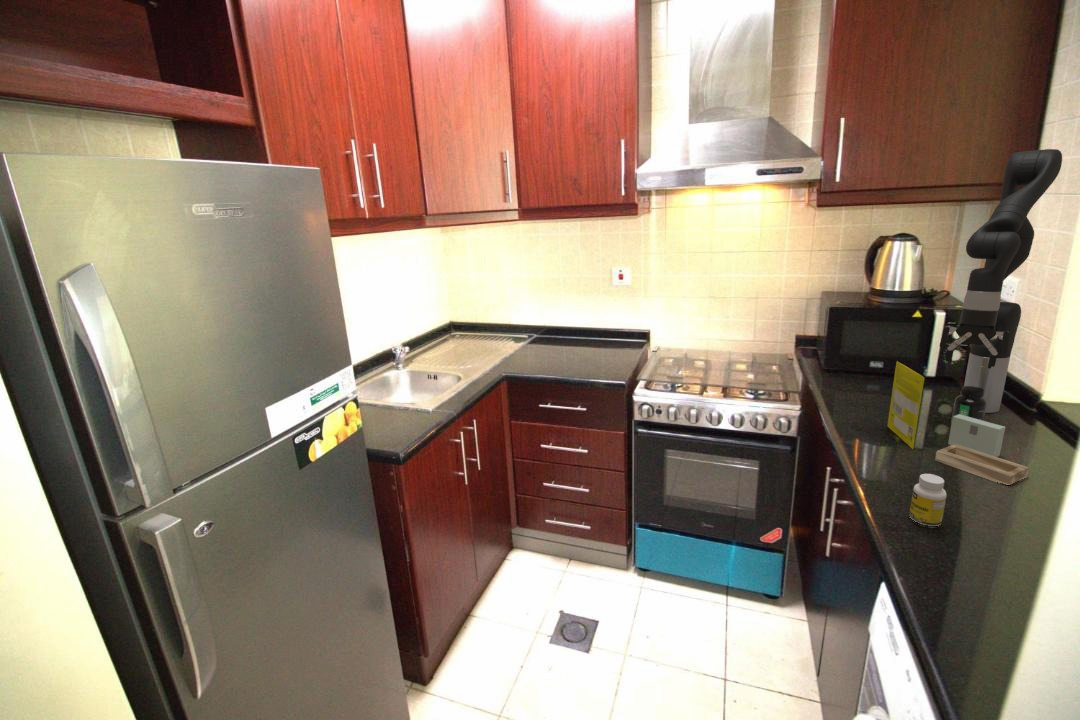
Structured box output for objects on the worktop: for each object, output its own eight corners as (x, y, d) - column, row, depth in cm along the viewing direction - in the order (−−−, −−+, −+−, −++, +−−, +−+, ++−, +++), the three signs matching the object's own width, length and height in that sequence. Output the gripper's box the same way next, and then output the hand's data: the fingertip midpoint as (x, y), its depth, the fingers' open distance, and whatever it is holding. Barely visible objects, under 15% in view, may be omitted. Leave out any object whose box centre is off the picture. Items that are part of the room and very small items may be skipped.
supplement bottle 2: (962, 434, 142) (970, 393, 138) (944, 424, 148) (951, 385, 145) (987, 432, 142) (995, 392, 138) (968, 423, 148) (975, 384, 145)
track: (953, 452, 132) (954, 443, 131) (1026, 477, 119) (1028, 467, 118) (935, 460, 128) (936, 451, 128) (1008, 486, 115) (1010, 476, 115)
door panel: (954, 441, 138) (959, 414, 136) (999, 456, 129) (1005, 426, 127) (947, 444, 136) (952, 416, 134) (992, 459, 128) (998, 429, 126)
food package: (915, 449, 134) (926, 377, 129) (910, 449, 135) (921, 377, 129) (889, 426, 149) (898, 360, 143) (885, 426, 149) (894, 360, 144)
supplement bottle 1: (902, 514, 107) (908, 472, 105) (926, 512, 108) (933, 470, 105) (923, 529, 102) (930, 486, 100) (948, 527, 103) (956, 483, 100)
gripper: (1015, 308, 136) (1002, 367, 140) (948, 304, 145) (938, 359, 149) (1016, 311, 131) (1003, 372, 134) (946, 306, 140) (935, 364, 144)
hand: (968, 365), depth 142 cm, fingers open, 8 cm apart
